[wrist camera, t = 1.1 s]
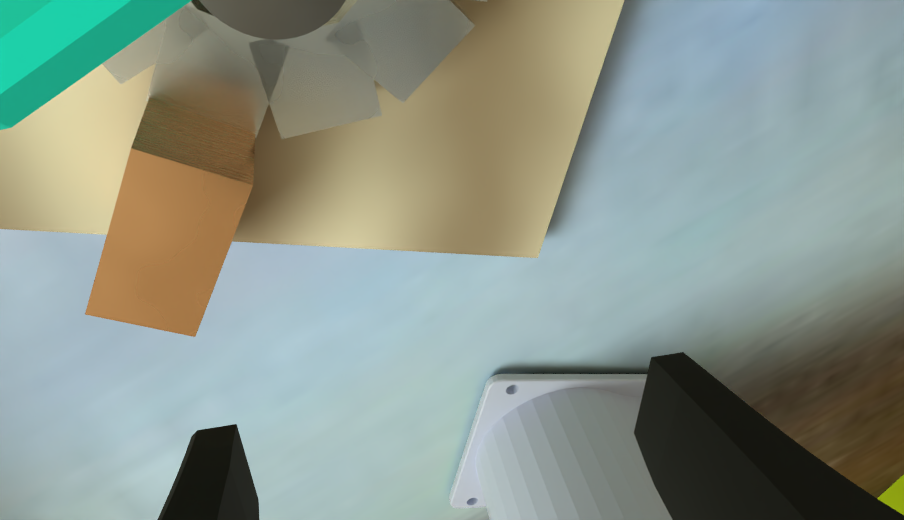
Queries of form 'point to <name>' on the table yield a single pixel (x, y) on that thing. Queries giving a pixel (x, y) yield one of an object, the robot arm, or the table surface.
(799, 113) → the table surface
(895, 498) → the puzzle toy
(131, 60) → the flange
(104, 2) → the table top decor
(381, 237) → the board
